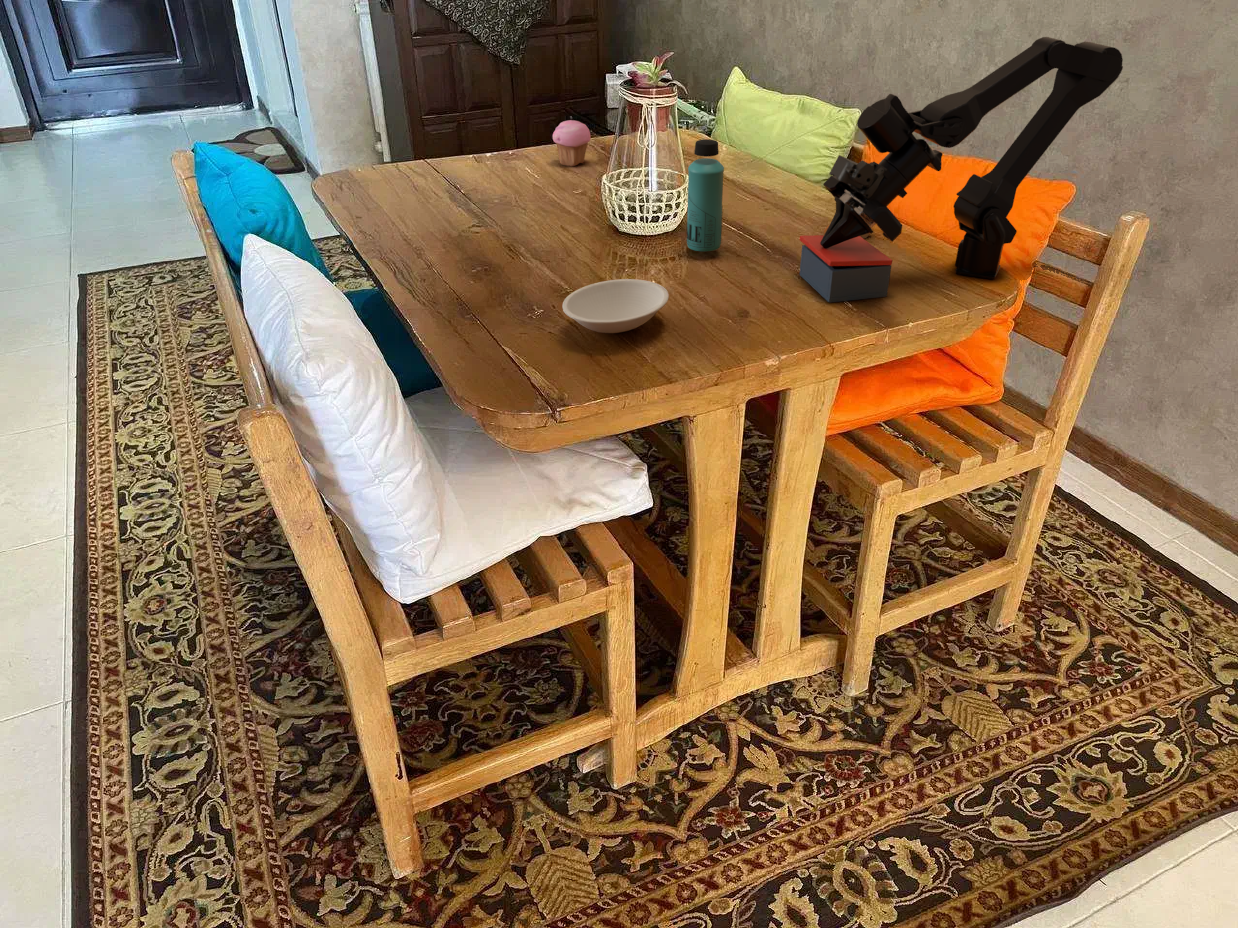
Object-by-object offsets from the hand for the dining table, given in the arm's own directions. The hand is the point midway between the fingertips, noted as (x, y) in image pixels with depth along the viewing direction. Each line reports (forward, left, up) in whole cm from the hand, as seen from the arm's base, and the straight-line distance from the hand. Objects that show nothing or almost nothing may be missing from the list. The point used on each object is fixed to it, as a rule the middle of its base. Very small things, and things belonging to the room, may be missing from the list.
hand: (822, 246), depth 149 cm
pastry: (+3, -27, -7) cm, 28 cm away
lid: (-3, -3, -1) cm, 4 cm away
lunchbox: (-3, -3, -7) cm, 8 cm away
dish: (+23, +29, -7) cm, 38 cm away
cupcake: (+76, -50, -7) cm, 91 cm away
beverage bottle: (+24, -7, -7) cm, 26 cm away
